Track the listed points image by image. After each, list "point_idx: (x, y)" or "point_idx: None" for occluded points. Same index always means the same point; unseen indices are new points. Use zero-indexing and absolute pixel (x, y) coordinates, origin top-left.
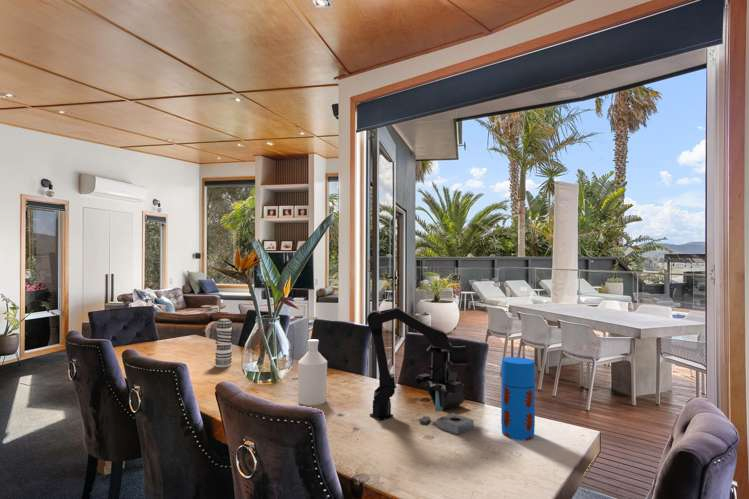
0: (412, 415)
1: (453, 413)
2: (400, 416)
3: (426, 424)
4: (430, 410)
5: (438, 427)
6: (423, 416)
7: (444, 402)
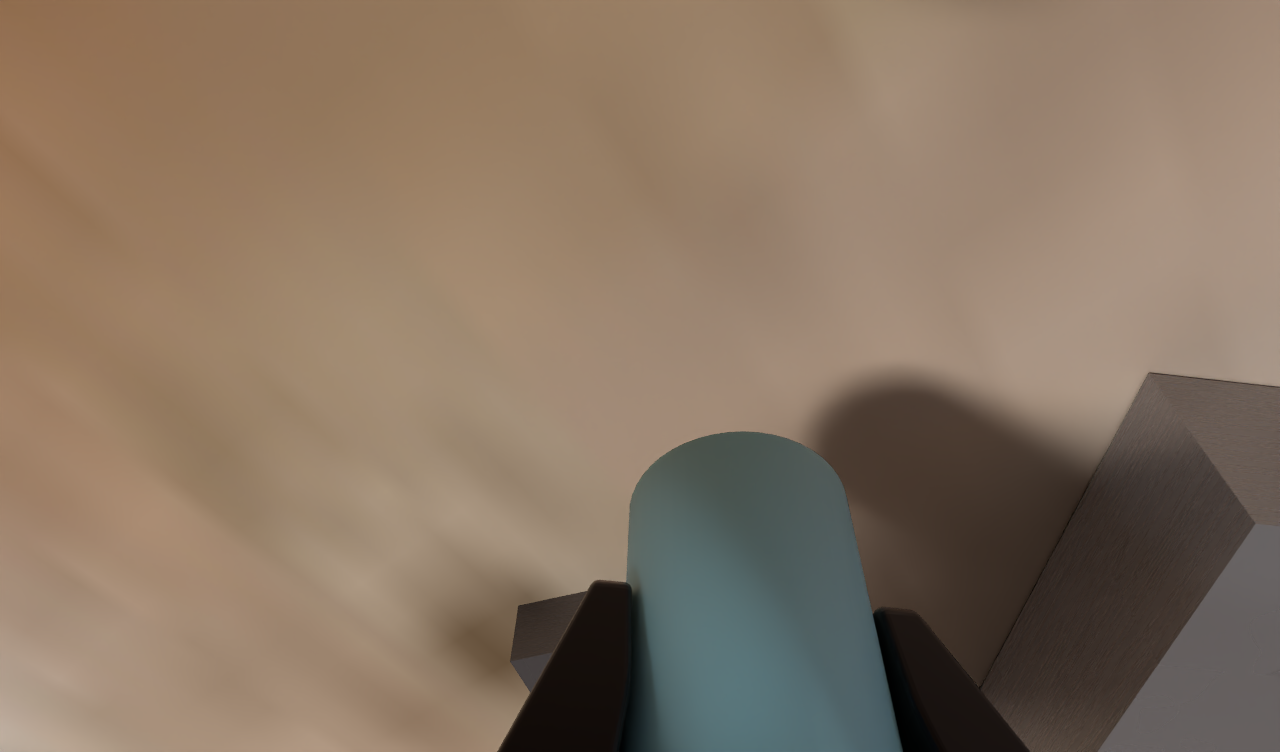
0: (206, 581)
1: (1275, 530)
2: (123, 716)
3: None
4: (154, 25)
5: None
6: (525, 678)
7: (1011, 743)
